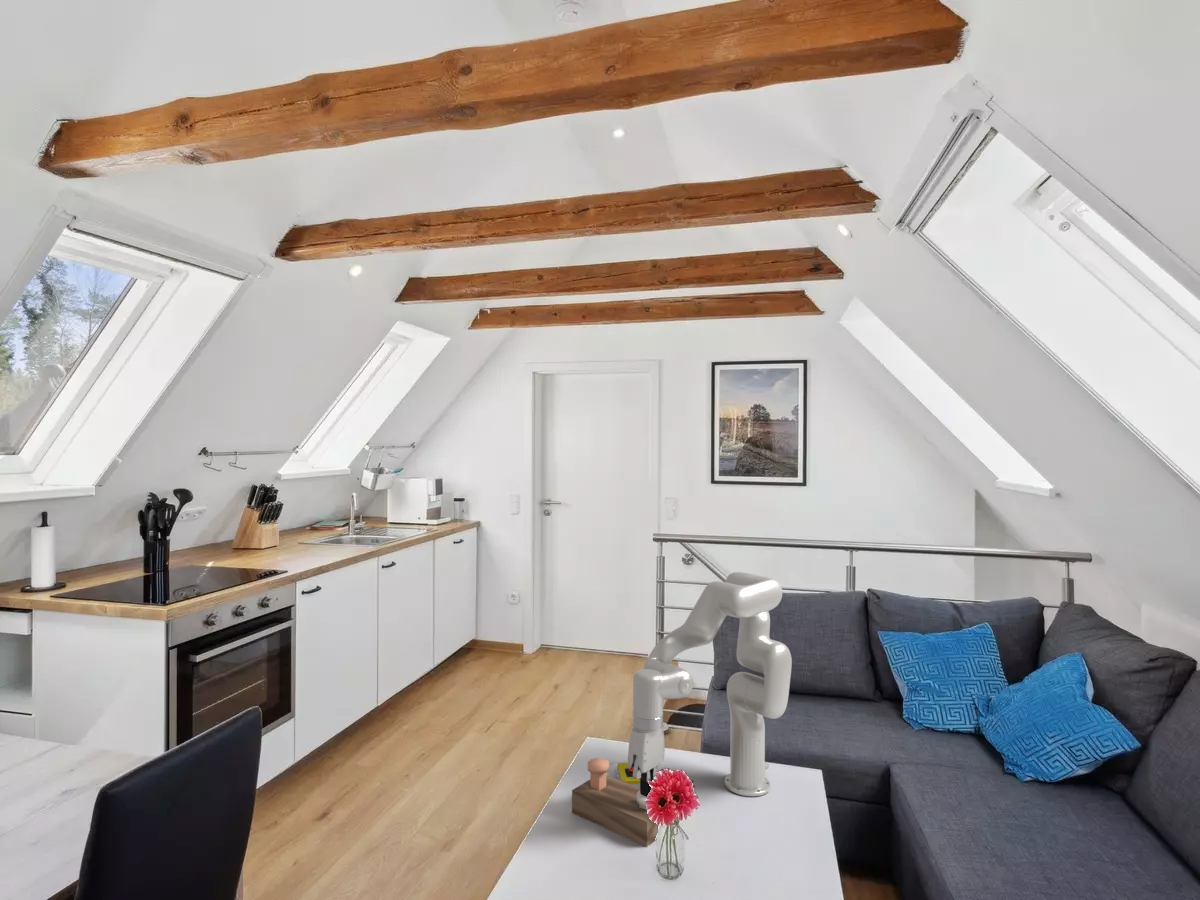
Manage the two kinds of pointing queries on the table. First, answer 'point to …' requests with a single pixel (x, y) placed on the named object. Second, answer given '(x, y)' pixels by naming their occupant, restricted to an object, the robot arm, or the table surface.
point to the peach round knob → (598, 772)
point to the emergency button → (627, 775)
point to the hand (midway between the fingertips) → (647, 794)
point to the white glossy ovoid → (641, 800)
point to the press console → (615, 810)
